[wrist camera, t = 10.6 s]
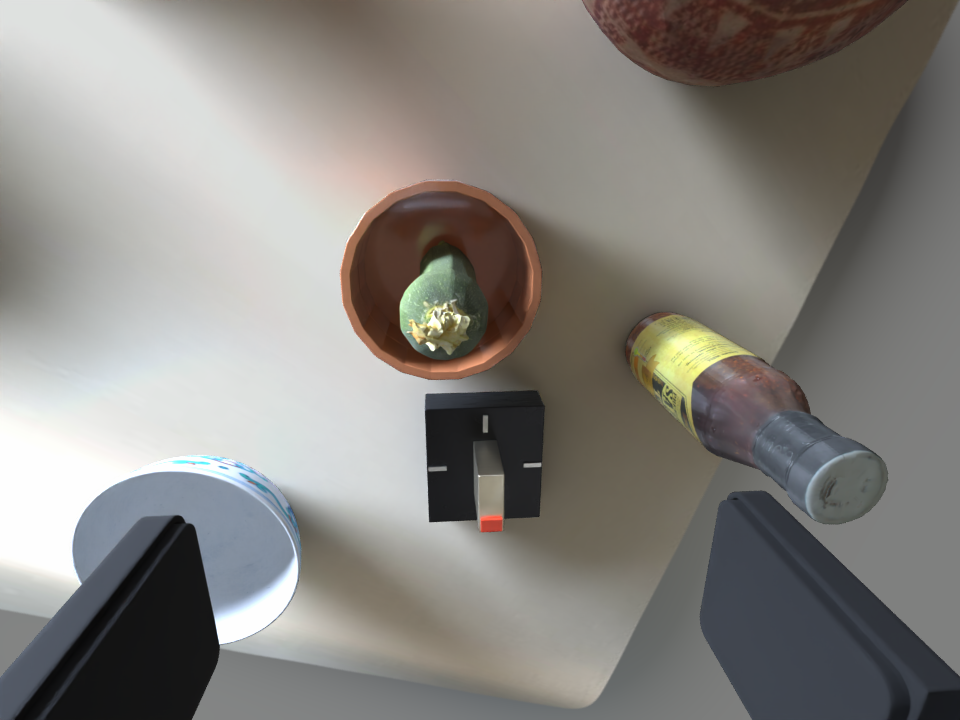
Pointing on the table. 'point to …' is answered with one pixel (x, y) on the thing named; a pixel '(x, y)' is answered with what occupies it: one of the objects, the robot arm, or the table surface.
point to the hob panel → (452, 451)
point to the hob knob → (488, 486)
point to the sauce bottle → (753, 416)
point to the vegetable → (444, 305)
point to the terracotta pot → (396, 264)
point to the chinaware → (207, 533)
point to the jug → (733, 34)
